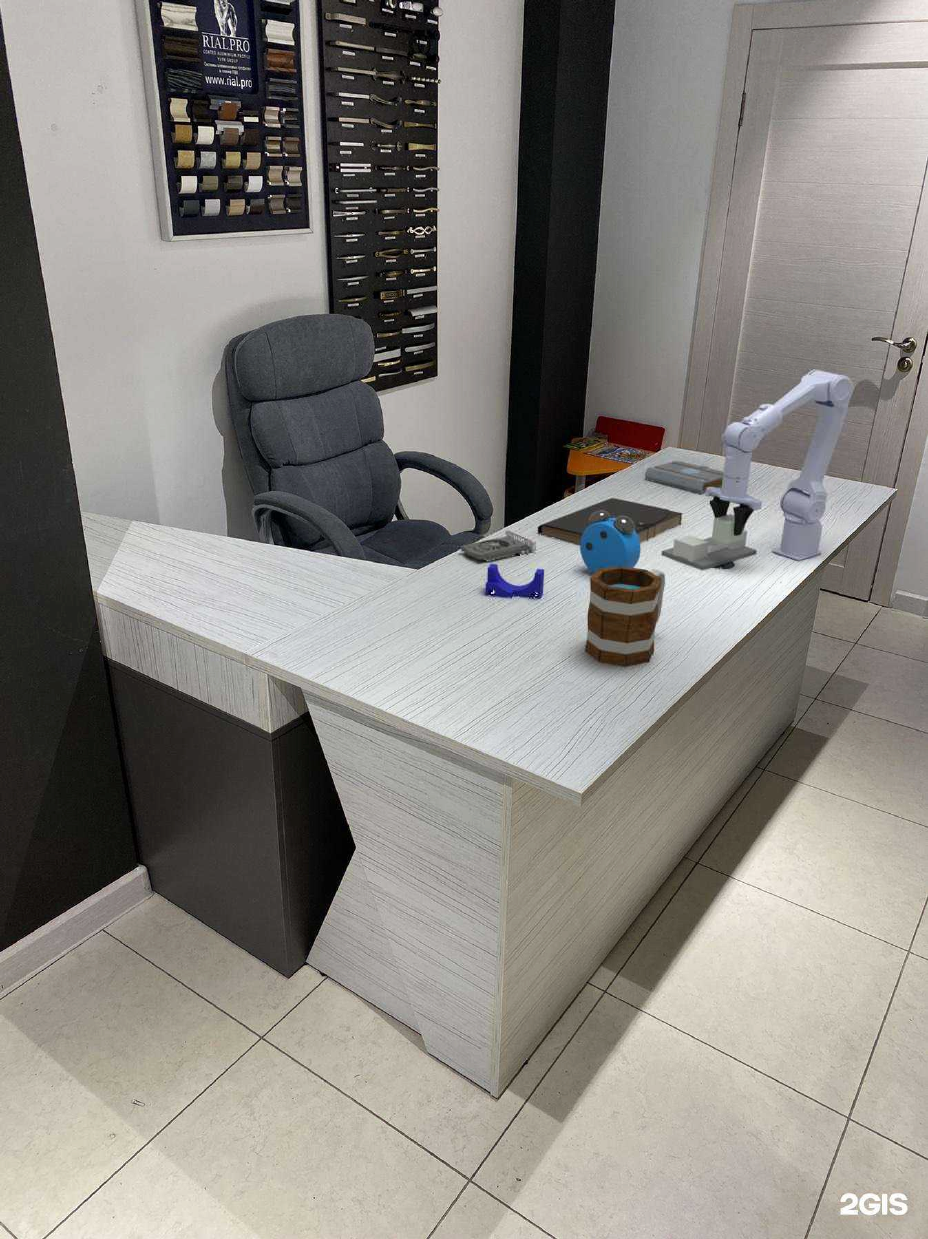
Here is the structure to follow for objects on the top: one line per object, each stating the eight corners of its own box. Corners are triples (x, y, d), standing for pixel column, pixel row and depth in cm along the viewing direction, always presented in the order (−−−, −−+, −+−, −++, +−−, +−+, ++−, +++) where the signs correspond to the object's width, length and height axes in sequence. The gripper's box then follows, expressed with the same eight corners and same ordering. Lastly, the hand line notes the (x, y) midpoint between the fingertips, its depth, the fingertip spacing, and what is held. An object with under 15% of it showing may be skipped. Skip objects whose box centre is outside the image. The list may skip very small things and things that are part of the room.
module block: (727, 534, 229) (730, 514, 227) (743, 538, 226) (745, 518, 224) (711, 538, 225) (714, 518, 223) (727, 543, 222) (729, 523, 220)
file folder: (617, 541, 232) (537, 521, 247) (616, 557, 234) (537, 537, 248) (683, 512, 255) (607, 495, 270) (682, 526, 257) (606, 509, 271)
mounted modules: (725, 539, 243) (727, 524, 241) (745, 546, 238) (747, 530, 237) (672, 554, 231) (674, 539, 230) (691, 561, 227) (693, 546, 226)
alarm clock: (638, 579, 219) (644, 516, 213) (623, 586, 215) (629, 522, 209) (592, 565, 227) (596, 504, 221) (576, 571, 223) (580, 510, 217)
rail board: (714, 539, 246) (715, 534, 245) (756, 553, 236) (756, 548, 235) (661, 554, 234) (662, 549, 234) (702, 570, 225) (703, 564, 224)
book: (644, 481, 298) (645, 466, 296) (676, 473, 308) (678, 457, 306) (700, 496, 283) (702, 480, 281) (732, 486, 293) (734, 471, 291)
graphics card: (508, 528, 242) (537, 540, 233) (508, 542, 244) (536, 555, 234) (452, 540, 234) (479, 553, 225) (453, 554, 235) (479, 568, 226)
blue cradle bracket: (485, 596, 209) (485, 570, 207) (490, 588, 213) (490, 563, 211) (538, 602, 206) (540, 576, 204) (543, 594, 210) (544, 569, 208)
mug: (628, 673, 175) (635, 598, 169) (570, 650, 184) (574, 578, 178) (685, 641, 188) (694, 570, 182) (628, 622, 197) (635, 553, 191)
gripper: (699, 471, 222) (693, 527, 228) (751, 485, 212) (743, 543, 217) (719, 467, 226) (712, 521, 232) (770, 480, 216) (762, 537, 221)
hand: (728, 531), depth 225 cm, fingers closed on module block, 4 cm apart
